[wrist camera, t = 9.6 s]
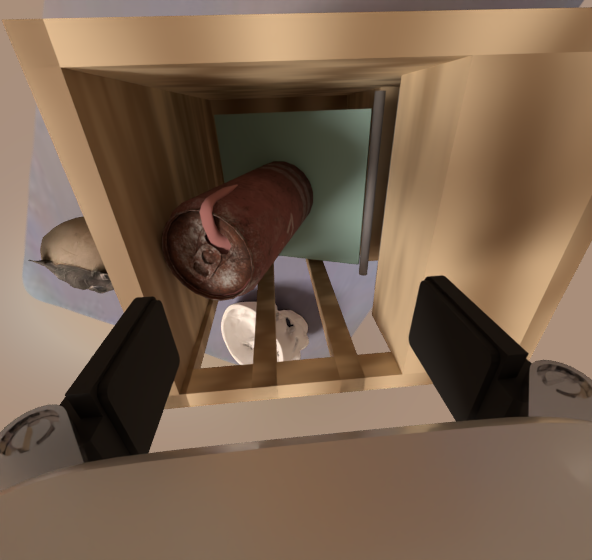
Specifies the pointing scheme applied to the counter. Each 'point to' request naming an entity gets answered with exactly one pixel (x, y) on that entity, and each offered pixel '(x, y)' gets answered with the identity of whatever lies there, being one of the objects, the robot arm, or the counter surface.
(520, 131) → the zigzag grain wooden box
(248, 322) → the skull bowl
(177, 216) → the can
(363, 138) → the green chalkboard
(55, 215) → the counter surface
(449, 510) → the robot arm
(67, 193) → the counter surface
